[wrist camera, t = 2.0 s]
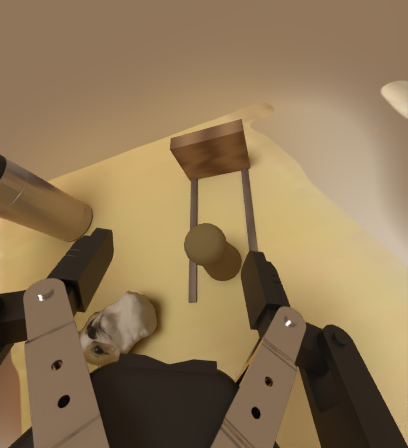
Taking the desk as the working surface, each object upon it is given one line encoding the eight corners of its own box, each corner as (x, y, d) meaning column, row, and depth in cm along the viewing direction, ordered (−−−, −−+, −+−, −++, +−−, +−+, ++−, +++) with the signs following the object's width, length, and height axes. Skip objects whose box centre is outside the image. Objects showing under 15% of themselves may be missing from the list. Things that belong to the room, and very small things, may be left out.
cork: (233, 238, 34) (216, 208, 25) (247, 273, 32) (234, 254, 22) (200, 251, 35) (172, 227, 26) (211, 286, 32) (183, 273, 23)
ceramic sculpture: (146, 335, 24) (53, 420, 24) (181, 329, 31) (109, 394, 32) (113, 266, 29) (37, 336, 30) (150, 274, 37) (88, 331, 37)
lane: (187, 302, 33) (158, 298, 25) (190, 170, 43) (170, 138, 35) (266, 300, 29) (261, 294, 21) (248, 157, 40) (241, 119, 32)
